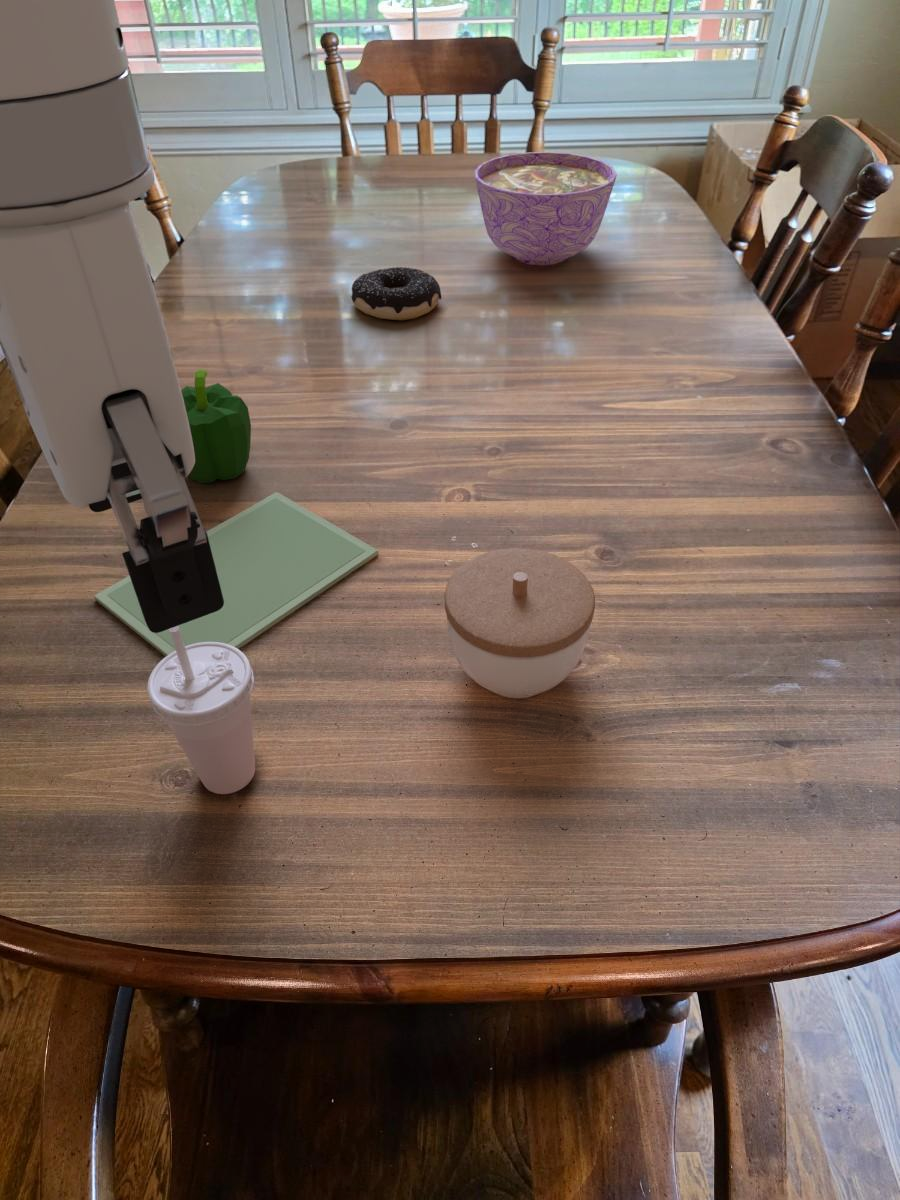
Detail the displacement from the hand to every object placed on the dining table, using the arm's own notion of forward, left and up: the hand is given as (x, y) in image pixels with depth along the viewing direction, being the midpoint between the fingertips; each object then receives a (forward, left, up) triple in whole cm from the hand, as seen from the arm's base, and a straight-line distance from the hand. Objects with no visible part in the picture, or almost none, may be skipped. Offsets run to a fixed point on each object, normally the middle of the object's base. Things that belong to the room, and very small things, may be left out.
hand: (152, 554), depth 39 cm
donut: (+66, +51, -24) cm, 86 cm away
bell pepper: (+26, +37, -24) cm, 51 cm away
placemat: (+17, +22, -24) cm, 36 cm away
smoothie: (+3, +6, -24) cm, 25 cm away
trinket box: (+24, -3, -24) cm, 34 cm away
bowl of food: (+93, +47, -24) cm, 107 cm away
